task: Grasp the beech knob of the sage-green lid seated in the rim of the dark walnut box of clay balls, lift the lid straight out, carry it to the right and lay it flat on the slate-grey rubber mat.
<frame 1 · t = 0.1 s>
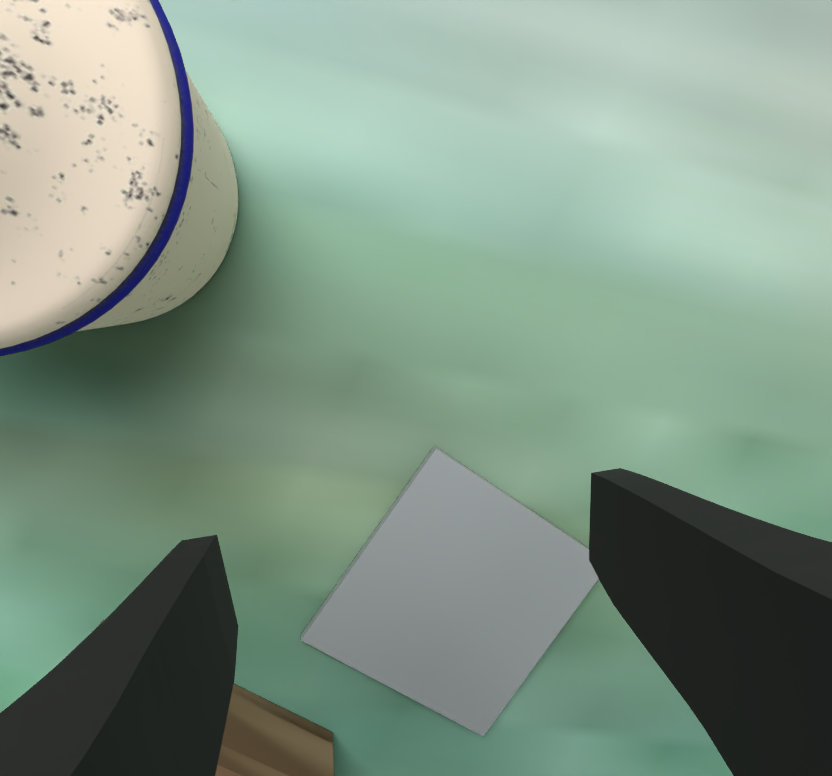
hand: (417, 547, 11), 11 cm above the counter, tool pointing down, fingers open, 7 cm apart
teacup with lid: (72, 222, 18), on the counter
rubber mat: (458, 595, 23), on the counter
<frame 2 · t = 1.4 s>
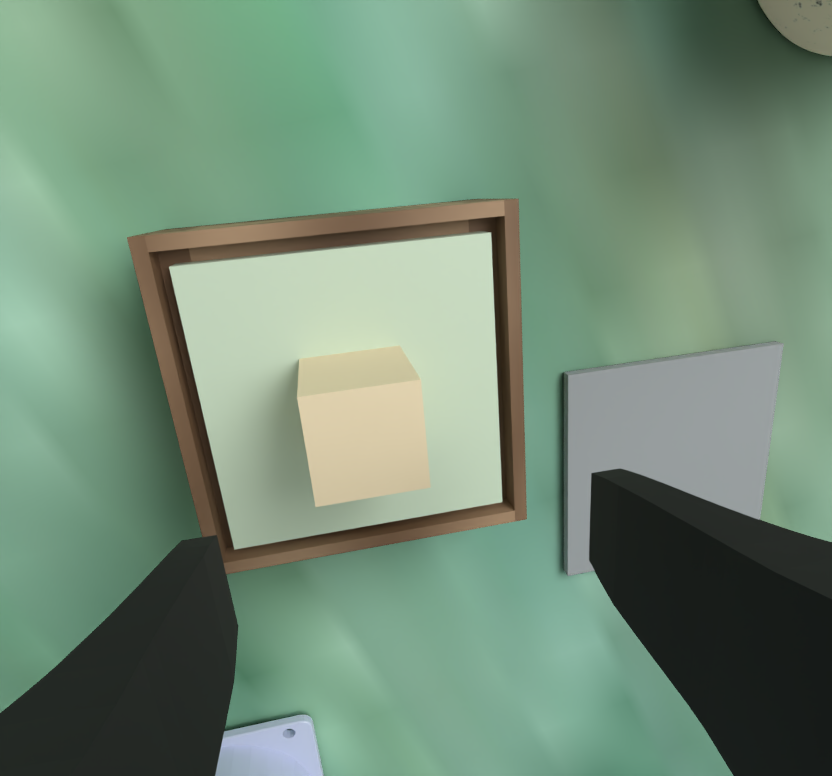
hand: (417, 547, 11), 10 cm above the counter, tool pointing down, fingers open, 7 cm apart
rubber mat: (665, 459, 23), on the counter
lid: (354, 390, 17), point 3 cm above the counter, touching walnut box
walnut box: (347, 362, 20), on the counter
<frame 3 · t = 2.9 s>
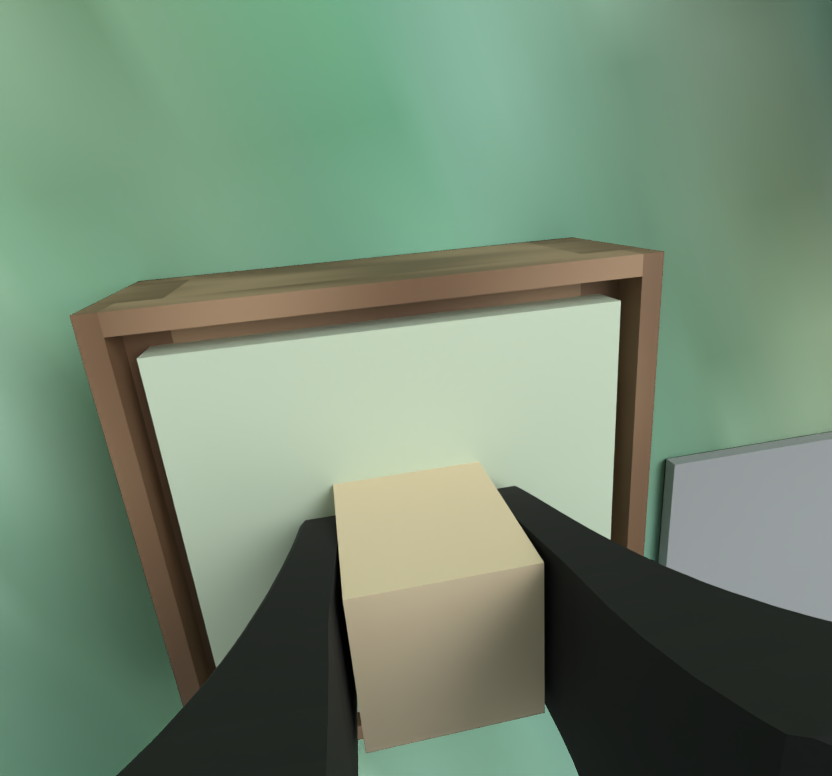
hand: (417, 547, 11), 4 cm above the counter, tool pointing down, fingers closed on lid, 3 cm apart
rubber mat: (783, 561, 18), on the counter
lid: (406, 514, 12), point 3 cm above the counter, touching gripper, walnut box
walnut box: (388, 453, 15), on the counter
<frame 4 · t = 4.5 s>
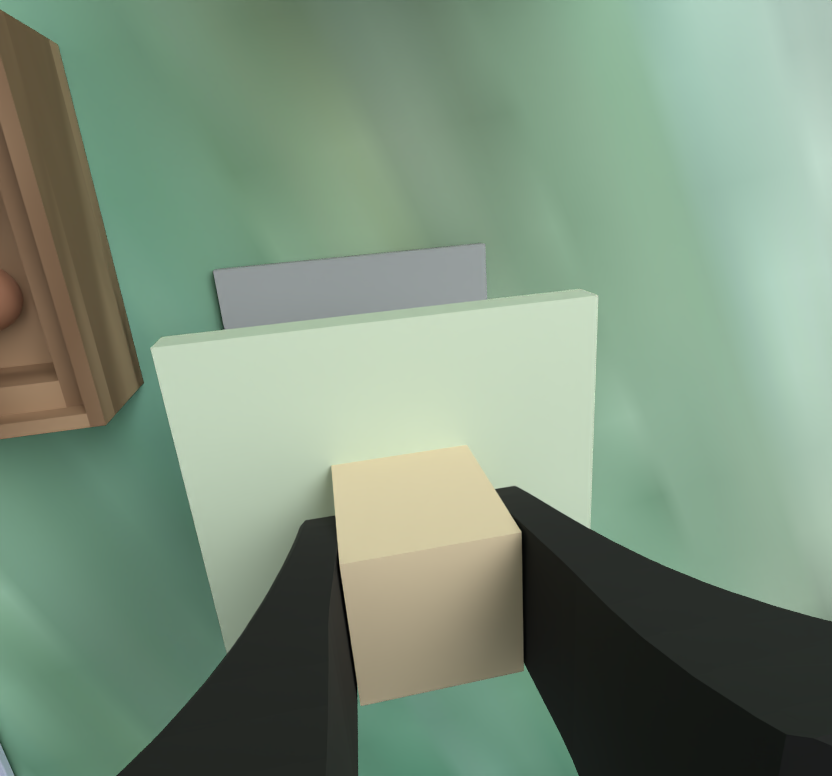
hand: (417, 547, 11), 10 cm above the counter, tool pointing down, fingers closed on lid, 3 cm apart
rubber mat: (367, 381, 20), on the counter
lid: (400, 495, 13), point 8 cm above the counter, touching gripper
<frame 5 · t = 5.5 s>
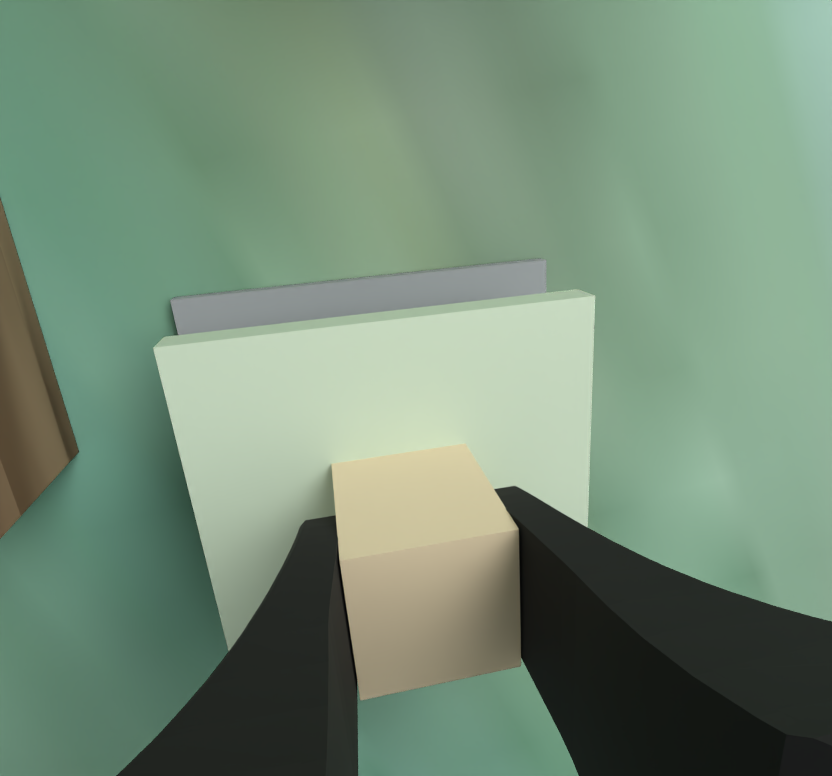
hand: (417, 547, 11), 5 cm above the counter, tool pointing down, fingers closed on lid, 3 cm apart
rubber mat: (383, 443, 15), on the counter
lid: (399, 493, 13), point 3 cm above the counter, touching gripper
when the fingers open (3 cm above the counter, at t = 6.2 s): lid stays where it is, resting on rubber mat.
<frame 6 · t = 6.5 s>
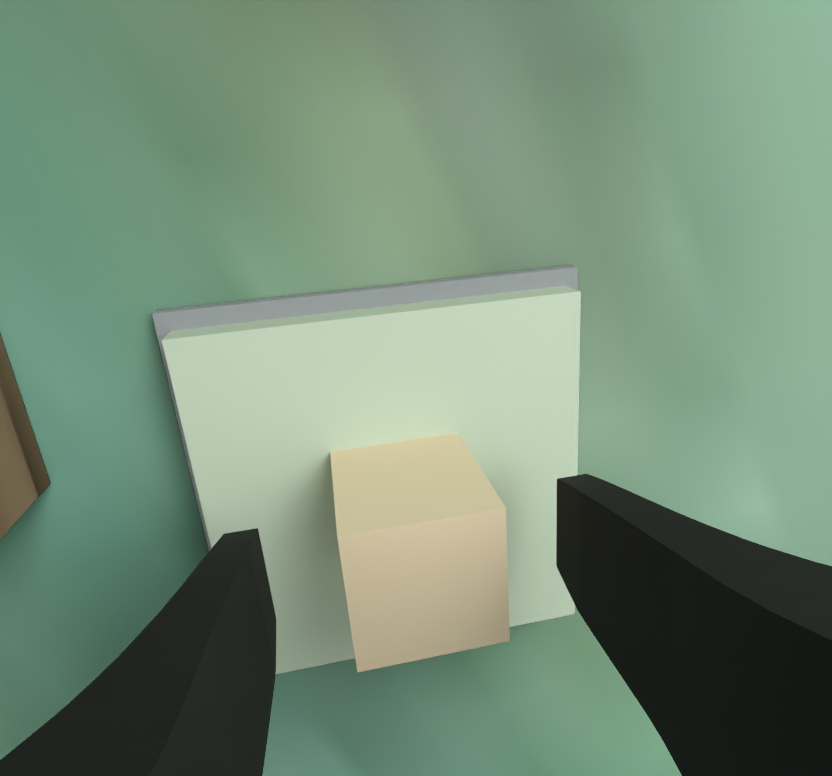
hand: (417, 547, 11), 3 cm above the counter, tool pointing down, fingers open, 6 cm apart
rubber mat: (393, 471, 14), on the counter
lid: (395, 481, 13), resting on rubber mat
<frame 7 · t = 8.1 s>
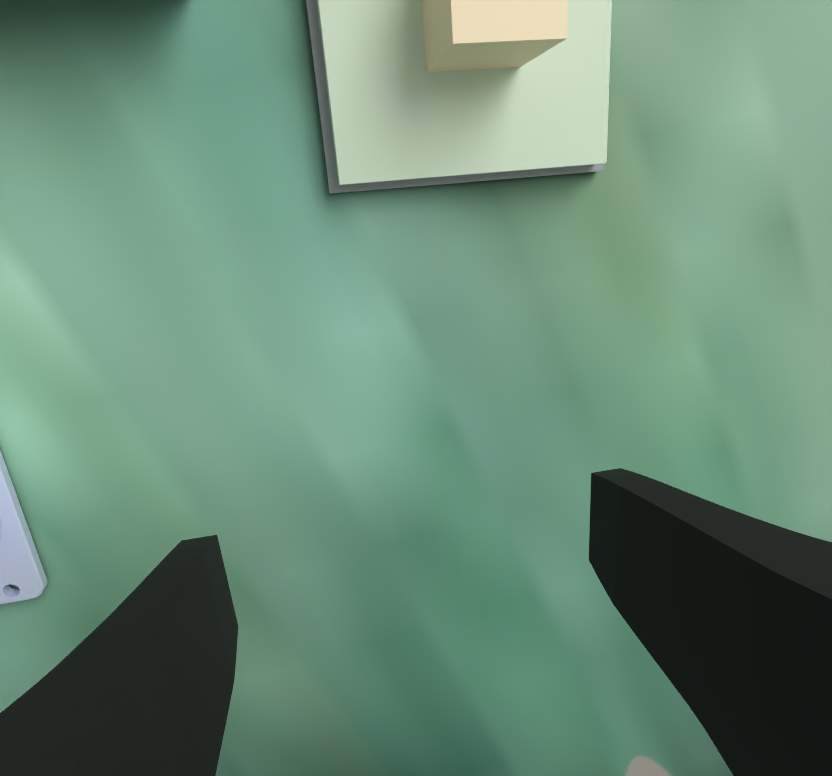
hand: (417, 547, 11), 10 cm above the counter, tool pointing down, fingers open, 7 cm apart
rubber mat: (460, 22, 17), on the counter
lid: (464, 21, 16), resting on rubber mat
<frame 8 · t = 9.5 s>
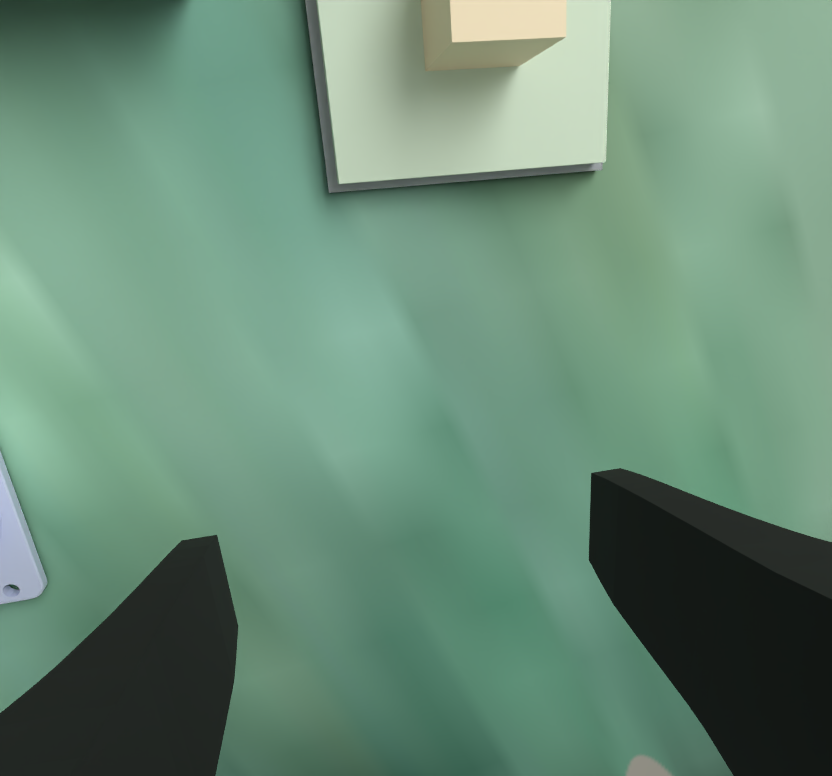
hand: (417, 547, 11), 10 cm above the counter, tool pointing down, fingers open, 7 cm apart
rubber mat: (460, 21, 17), on the counter
lid: (463, 20, 16), resting on rubber mat
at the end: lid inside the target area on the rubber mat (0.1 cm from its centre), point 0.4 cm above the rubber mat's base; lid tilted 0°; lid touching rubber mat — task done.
